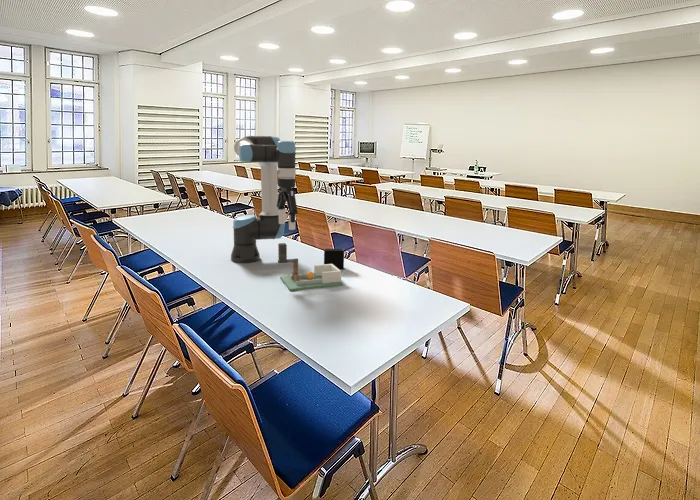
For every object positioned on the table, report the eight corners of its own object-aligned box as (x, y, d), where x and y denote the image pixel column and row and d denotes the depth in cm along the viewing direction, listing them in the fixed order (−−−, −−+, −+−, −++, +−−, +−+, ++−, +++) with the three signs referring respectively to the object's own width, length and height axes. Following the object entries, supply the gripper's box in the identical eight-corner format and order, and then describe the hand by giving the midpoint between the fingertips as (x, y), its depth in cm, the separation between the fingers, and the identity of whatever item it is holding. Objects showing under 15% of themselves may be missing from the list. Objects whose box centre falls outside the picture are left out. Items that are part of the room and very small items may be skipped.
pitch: (280, 278, 208) (280, 266, 206) (329, 273, 217) (330, 262, 216) (289, 291, 192) (289, 277, 190) (343, 285, 201) (343, 273, 200)
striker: (276, 279, 201) (276, 242, 197) (295, 278, 205) (295, 241, 200) (279, 284, 196) (279, 246, 191) (299, 282, 199) (299, 244, 195)
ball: (304, 279, 205) (304, 270, 204) (312, 278, 207) (313, 270, 206) (307, 281, 202) (307, 273, 201) (315, 280, 203) (315, 272, 202)
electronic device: (323, 267, 228) (324, 248, 225) (343, 267, 229) (343, 248, 226) (324, 269, 224) (324, 250, 221) (343, 269, 225) (344, 250, 222)
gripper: (269, 175, 198) (270, 221, 203) (288, 180, 176) (288, 232, 181) (285, 175, 201) (285, 221, 206) (305, 180, 180) (305, 231, 185)
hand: (286, 226), depth 194 cm, fingers open, 13 cm apart
